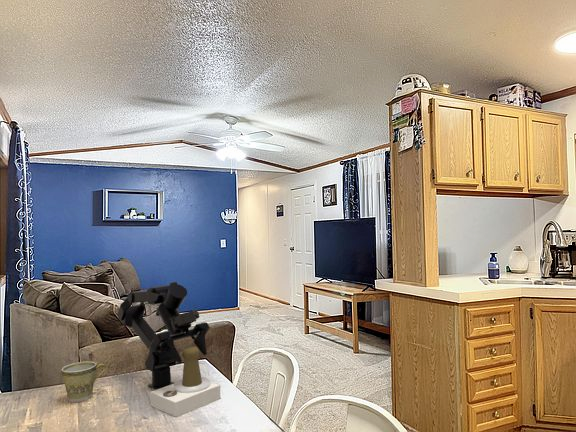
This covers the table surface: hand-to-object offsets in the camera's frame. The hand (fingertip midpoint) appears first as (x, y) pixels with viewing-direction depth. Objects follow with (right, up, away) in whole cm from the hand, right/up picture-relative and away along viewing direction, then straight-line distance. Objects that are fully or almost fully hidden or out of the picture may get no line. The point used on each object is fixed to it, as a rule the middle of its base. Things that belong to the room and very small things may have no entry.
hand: (193, 358), depth 134 cm
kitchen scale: (-2, -13, -1) cm, 13 cm away
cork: (-1, -8, +1) cm, 8 cm away
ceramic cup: (-36, -14, +6) cm, 39 cm away
